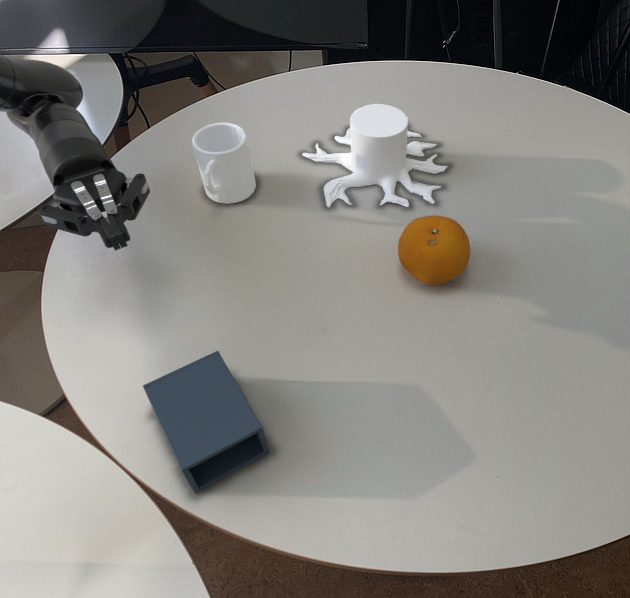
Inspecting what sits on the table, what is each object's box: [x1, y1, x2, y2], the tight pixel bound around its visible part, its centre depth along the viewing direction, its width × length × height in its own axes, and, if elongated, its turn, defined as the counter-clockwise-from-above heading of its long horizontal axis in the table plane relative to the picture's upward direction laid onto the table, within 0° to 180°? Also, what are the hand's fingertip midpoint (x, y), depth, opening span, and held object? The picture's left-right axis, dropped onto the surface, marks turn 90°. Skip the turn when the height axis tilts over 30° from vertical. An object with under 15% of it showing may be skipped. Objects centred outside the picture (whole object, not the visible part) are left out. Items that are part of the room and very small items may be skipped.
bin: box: [142, 350, 270, 494], centre depth 68 cm, size 6×9×12 cm
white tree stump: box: [302, 103, 449, 208], centre depth 100 cm, size 23×25×9 cm
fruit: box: [397, 214, 471, 286], centre depth 86 cm, size 10×10×8 cm
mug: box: [191, 122, 257, 205], centre depth 94 cm, size 8×12×10 cm
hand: (119, 242), depth 67 cm, fingers closed
